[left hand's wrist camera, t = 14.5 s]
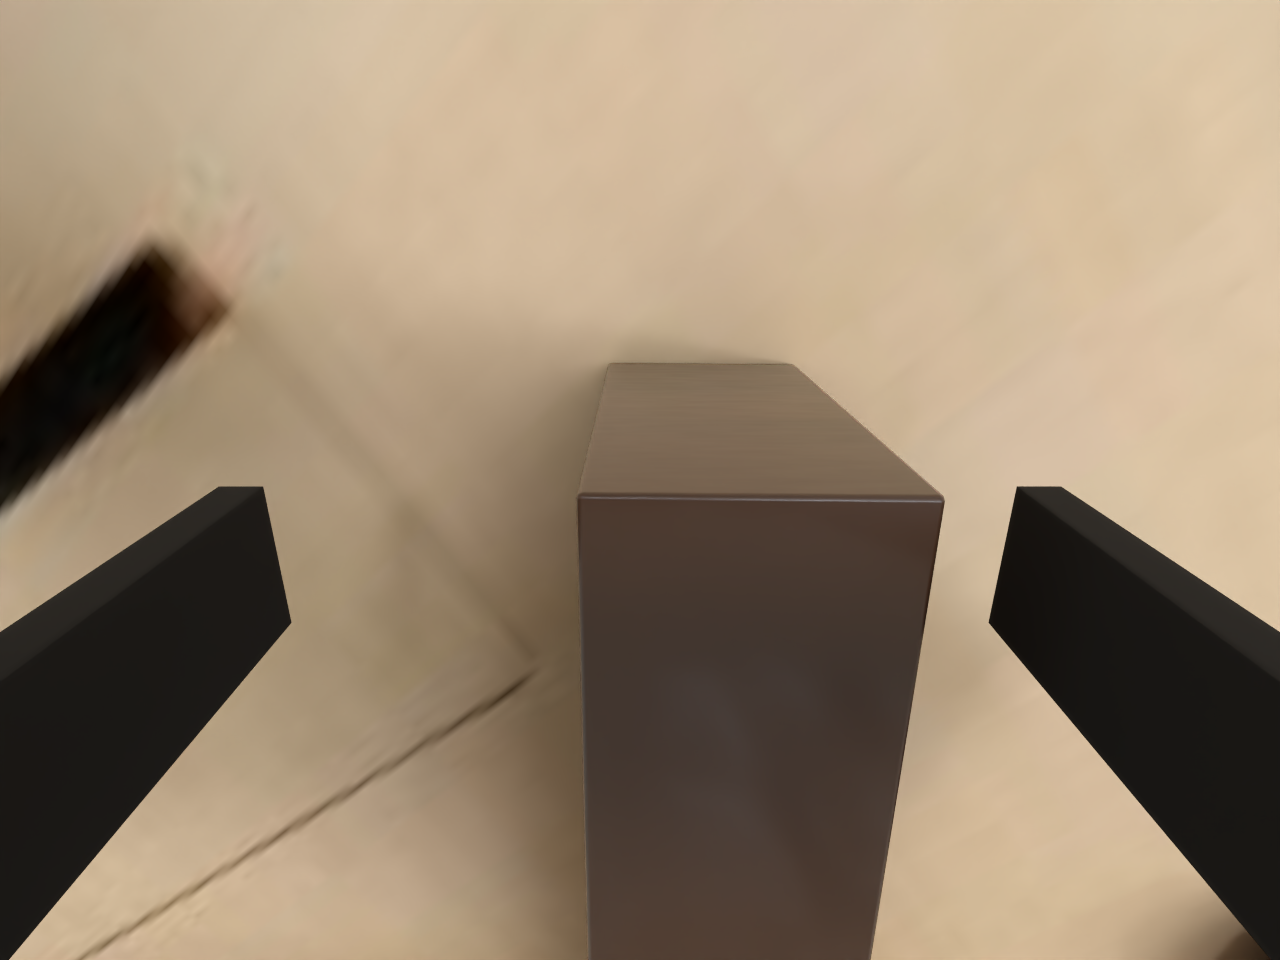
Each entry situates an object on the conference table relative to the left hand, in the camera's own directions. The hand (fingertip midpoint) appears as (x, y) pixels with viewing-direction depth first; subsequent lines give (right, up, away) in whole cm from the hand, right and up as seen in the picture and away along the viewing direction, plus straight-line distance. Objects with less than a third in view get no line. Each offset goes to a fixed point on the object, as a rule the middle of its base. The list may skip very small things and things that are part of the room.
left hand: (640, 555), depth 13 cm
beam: (+2, -9, +11) cm, 14 cm away
